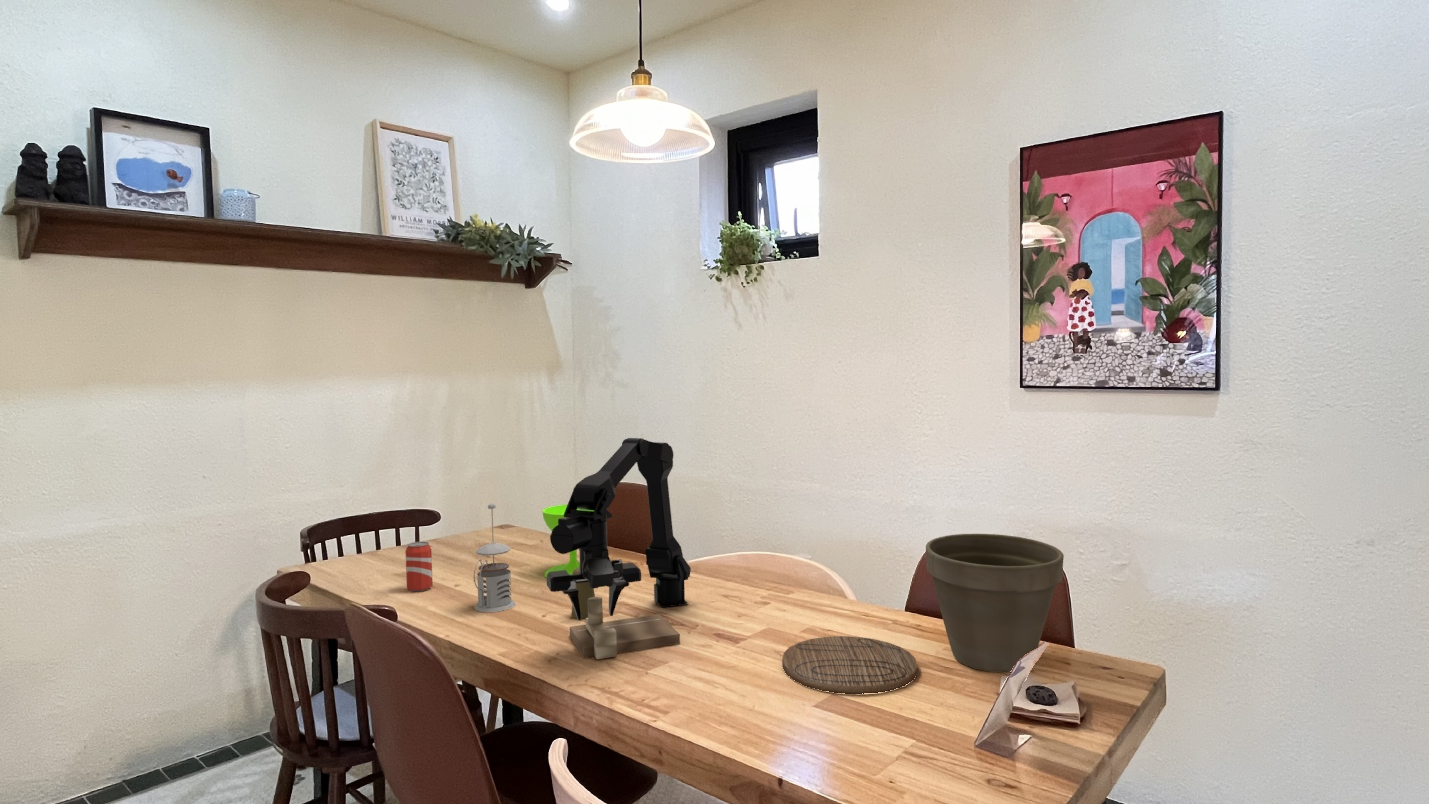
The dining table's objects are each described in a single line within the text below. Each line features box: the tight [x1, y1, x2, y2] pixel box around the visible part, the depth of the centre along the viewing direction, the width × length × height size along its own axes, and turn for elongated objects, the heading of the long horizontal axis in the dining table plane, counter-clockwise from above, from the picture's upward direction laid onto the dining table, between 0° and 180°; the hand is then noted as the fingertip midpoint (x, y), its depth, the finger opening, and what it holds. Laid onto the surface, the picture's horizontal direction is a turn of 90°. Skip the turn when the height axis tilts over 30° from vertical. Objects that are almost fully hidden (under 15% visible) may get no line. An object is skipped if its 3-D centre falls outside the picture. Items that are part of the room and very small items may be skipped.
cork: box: [571, 567, 596, 620], centre depth 182 cm, size 6×6×11 cm
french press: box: [473, 502, 517, 613], centre depth 188 cm, size 10×12×25 cm
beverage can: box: [405, 541, 434, 593], centre depth 205 cm, size 6×6×12 cm
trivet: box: [781, 635, 918, 694], centre depth 148 cm, size 25×25×2 cm
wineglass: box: [541, 504, 592, 578], centre depth 218 cm, size 16×16×18 cm
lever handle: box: [585, 596, 618, 660], centre depth 160 cm, size 4×13×9 cm, turn 22°
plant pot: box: [925, 533, 1065, 674], centre depth 150 cm, size 25×25×22 cm
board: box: [569, 613, 681, 659], centre depth 165 cm, size 20×14×2 cm
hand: (595, 617), depth 163 cm, fingers open, 6 cm apart
